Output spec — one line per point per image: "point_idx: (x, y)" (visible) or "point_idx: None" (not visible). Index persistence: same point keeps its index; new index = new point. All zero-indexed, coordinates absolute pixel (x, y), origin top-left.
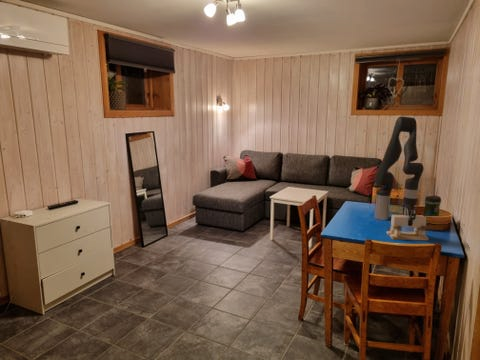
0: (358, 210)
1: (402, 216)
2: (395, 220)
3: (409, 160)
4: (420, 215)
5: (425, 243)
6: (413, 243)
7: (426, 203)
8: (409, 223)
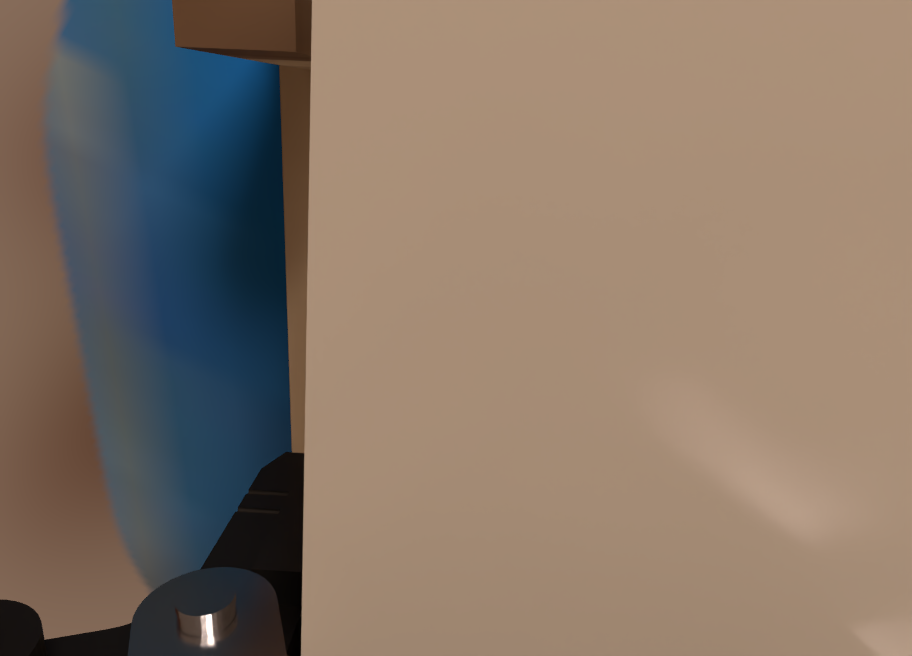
0: None
1: (562, 362)
2: None
3: None
4: None
5: (127, 505)
6: (85, 272)
7: None
8: (289, 486)
